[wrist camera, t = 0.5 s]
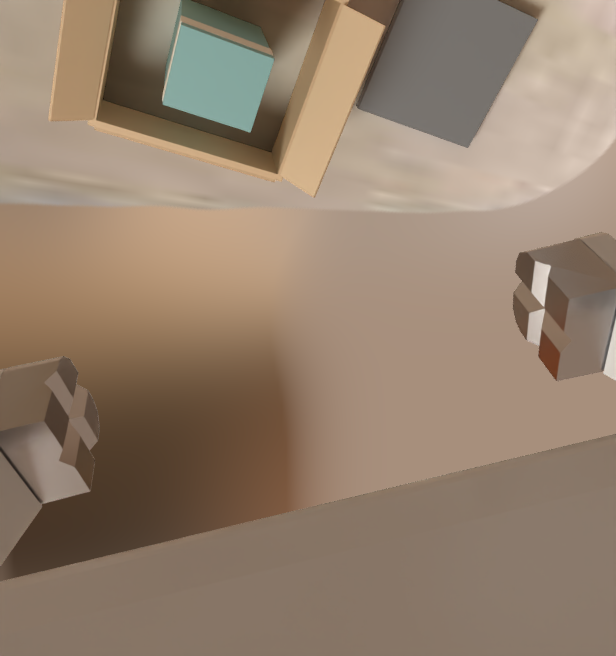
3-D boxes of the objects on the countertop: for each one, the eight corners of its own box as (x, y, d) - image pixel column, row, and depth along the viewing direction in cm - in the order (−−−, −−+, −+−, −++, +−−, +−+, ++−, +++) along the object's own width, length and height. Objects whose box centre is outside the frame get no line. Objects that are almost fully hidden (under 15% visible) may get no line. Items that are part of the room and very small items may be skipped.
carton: (93, -124, 38) (78, -120, 32) (366, -6, 45) (391, 14, 39) (62, 97, 46) (46, 131, 40) (298, 169, 52) (311, 206, 47)
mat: (416, -38, 44) (419, -37, 43) (533, 17, 48) (538, 19, 47) (356, 105, 50) (358, 108, 49) (464, 144, 53) (467, 147, 53)
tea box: (181, -5, 43) (180, 23, 36) (261, 26, 45) (275, 58, 38) (165, 66, 45) (161, 105, 38) (241, 92, 47) (250, 133, 41)
